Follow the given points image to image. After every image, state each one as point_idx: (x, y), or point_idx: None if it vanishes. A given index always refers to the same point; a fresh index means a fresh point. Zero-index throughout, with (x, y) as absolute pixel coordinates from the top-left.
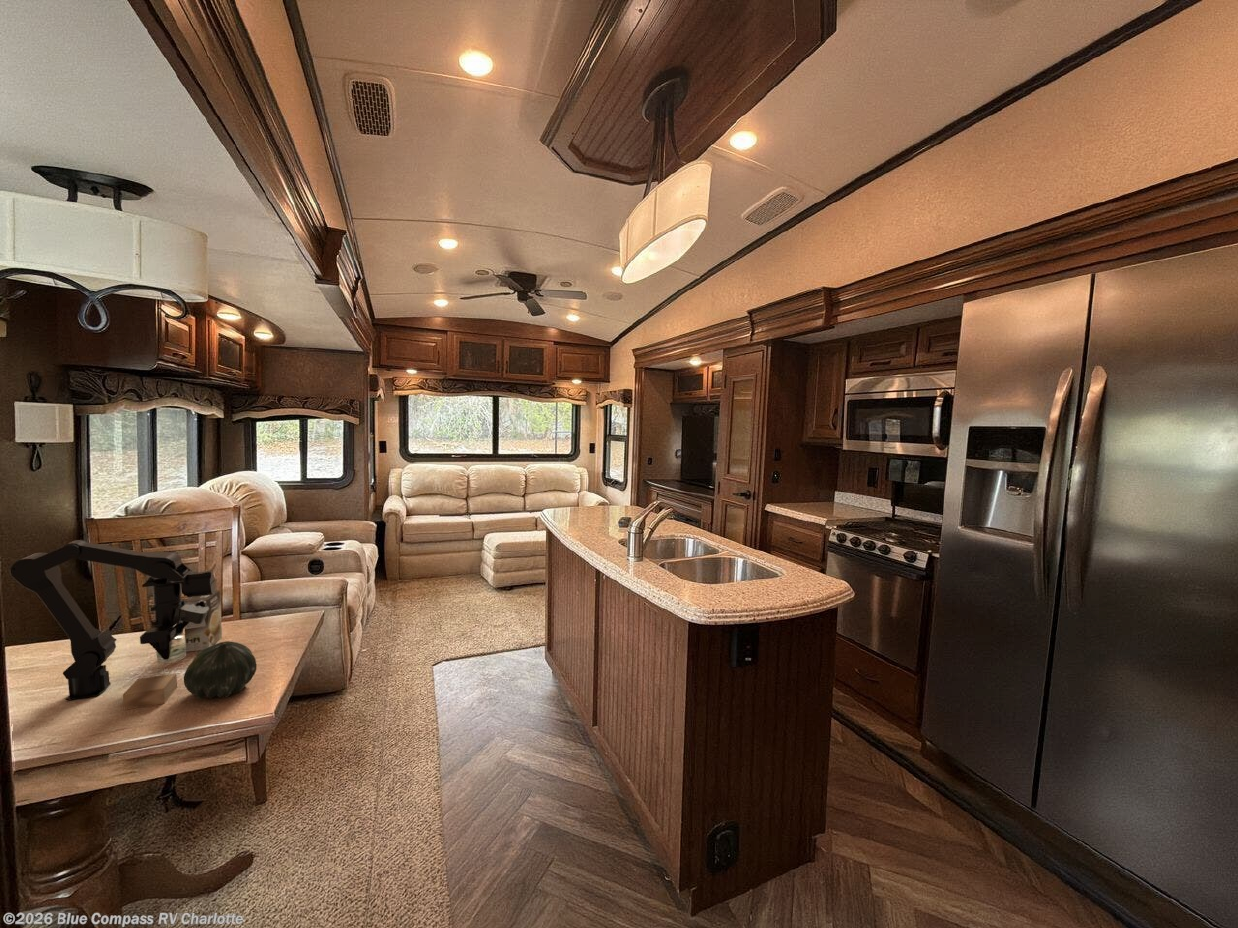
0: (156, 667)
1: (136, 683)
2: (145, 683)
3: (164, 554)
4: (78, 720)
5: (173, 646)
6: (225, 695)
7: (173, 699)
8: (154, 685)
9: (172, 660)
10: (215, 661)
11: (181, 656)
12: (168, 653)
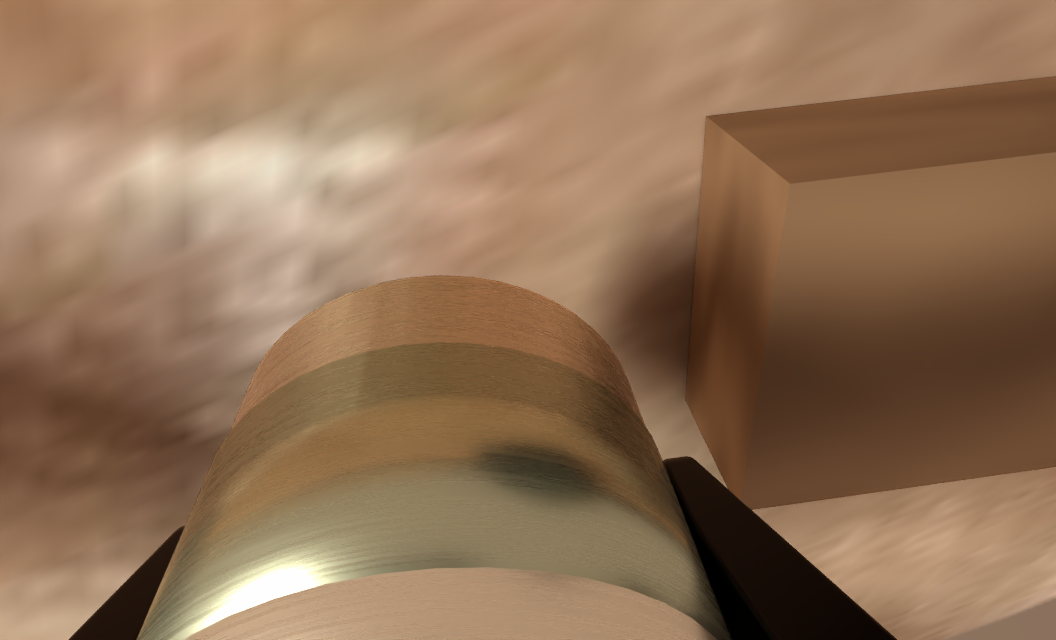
0: (166, 509)
1: (860, 473)
2: (918, 399)
3: None
4: (936, 526)
5: (715, 630)
6: None
7: (1022, 15)
8: (1052, 284)
9: (628, 385)
10: None
11: (530, 316)
12: (777, 541)
